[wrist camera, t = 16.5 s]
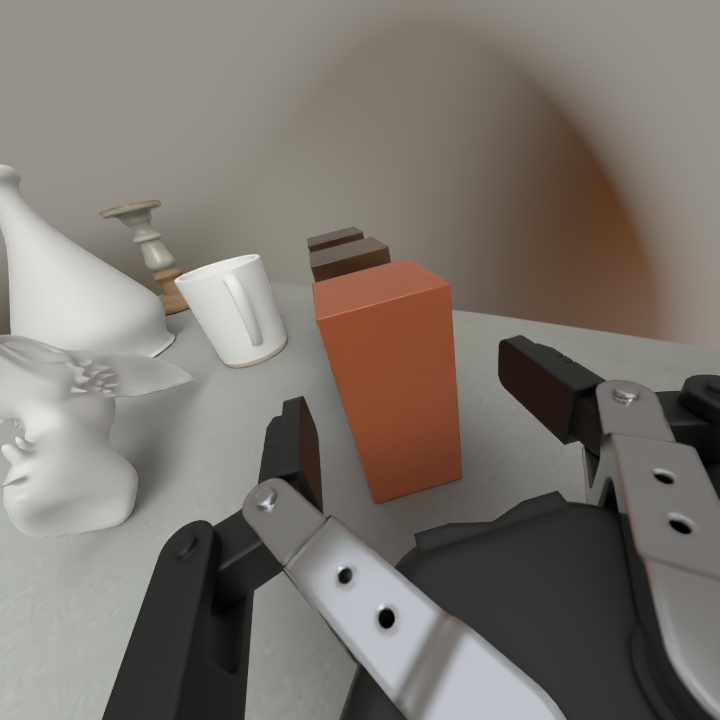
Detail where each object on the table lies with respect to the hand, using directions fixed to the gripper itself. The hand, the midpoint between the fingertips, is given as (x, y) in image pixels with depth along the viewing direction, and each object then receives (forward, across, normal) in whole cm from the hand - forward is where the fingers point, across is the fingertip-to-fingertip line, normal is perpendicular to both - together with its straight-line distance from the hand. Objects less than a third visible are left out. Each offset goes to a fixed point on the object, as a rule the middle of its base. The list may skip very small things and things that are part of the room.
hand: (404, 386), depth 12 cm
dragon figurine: (+9, +20, +8) cm, 23 cm away
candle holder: (+61, +34, +8) cm, 70 cm away
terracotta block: (+3, 0, +8) cm, 8 cm away
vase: (+36, +35, +8) cm, 51 cm away
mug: (+24, +12, +8) cm, 28 cm away
